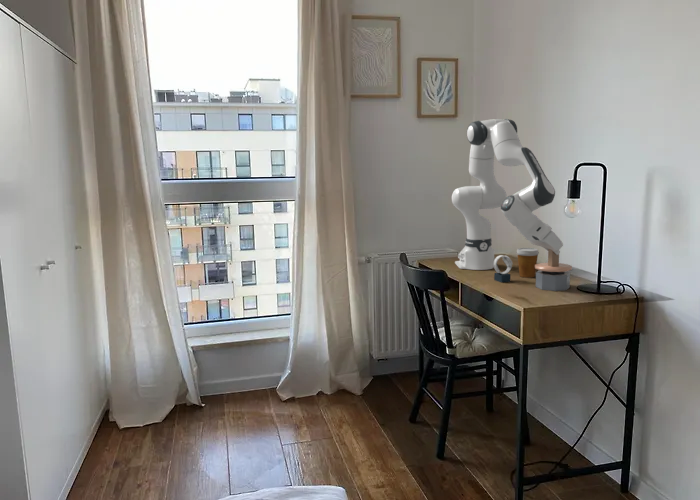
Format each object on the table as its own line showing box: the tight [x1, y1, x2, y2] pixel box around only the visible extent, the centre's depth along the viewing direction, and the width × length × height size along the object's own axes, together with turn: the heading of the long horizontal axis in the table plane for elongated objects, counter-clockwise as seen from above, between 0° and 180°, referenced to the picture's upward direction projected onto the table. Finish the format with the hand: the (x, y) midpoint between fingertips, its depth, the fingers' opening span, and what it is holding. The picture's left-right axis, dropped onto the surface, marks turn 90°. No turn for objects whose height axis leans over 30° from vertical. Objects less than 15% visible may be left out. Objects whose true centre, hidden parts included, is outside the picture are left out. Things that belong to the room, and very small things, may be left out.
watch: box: [493, 254, 513, 284], centre depth 241 cm, size 6×8×11 cm
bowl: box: [535, 270, 571, 292], centre depth 228 cm, size 12×12×6 cm
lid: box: [535, 249, 573, 272], centre depth 226 cm, size 14×14×10 cm
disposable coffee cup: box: [516, 247, 540, 279], centre depth 249 cm, size 10×10×12 cm
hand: (555, 252), depth 226 cm, fingers closed on lid, 3 cm apart
